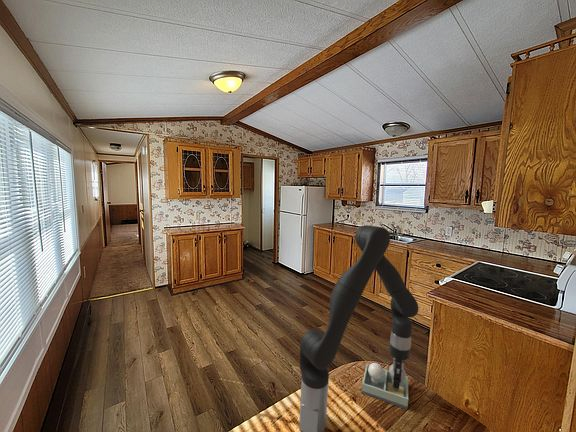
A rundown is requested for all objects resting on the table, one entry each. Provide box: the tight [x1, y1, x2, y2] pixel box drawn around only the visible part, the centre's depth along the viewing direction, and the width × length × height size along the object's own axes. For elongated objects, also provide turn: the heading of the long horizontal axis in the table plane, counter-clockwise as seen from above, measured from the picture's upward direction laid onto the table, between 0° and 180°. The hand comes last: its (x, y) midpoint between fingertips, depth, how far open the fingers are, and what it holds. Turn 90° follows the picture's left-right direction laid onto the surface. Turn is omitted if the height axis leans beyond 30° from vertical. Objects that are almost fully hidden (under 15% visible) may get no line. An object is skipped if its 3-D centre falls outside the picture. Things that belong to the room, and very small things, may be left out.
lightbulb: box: [388, 363, 407, 391], centre depth 105 cm, size 6×6×11 cm
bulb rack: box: [361, 362, 409, 410], centre depth 107 cm, size 13×17×10 cm
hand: (396, 381), depth 105 cm, fingers closed on lightbulb, 6 cm apart
